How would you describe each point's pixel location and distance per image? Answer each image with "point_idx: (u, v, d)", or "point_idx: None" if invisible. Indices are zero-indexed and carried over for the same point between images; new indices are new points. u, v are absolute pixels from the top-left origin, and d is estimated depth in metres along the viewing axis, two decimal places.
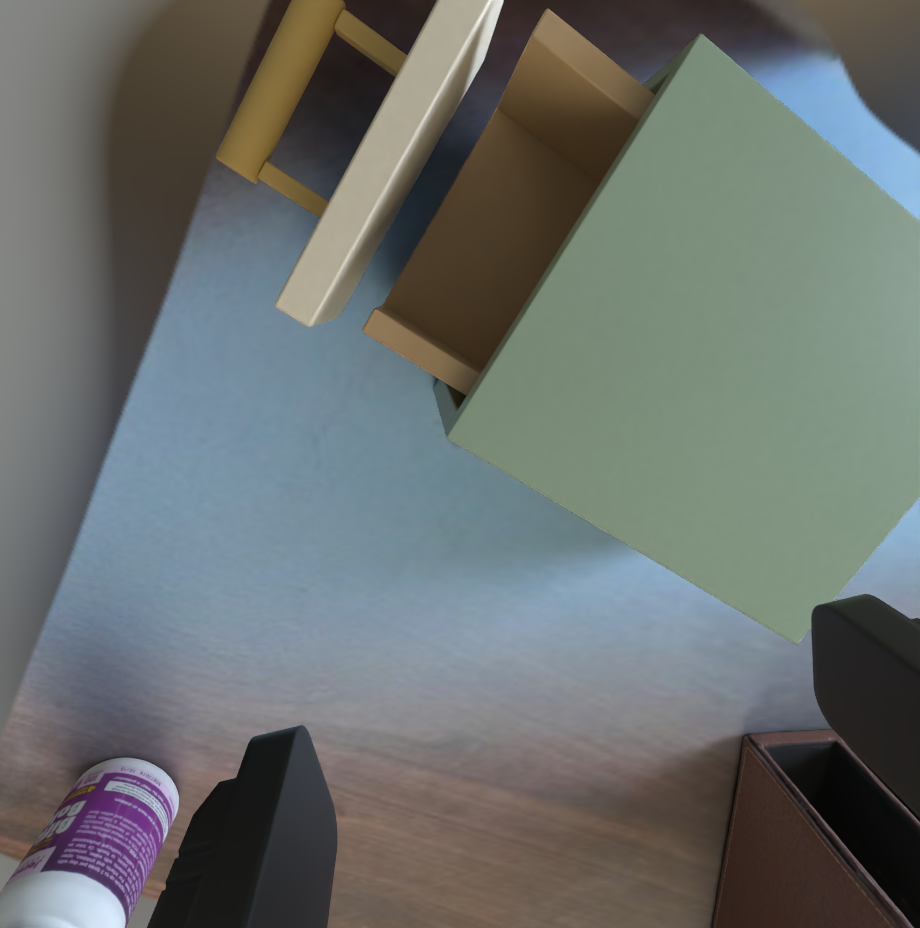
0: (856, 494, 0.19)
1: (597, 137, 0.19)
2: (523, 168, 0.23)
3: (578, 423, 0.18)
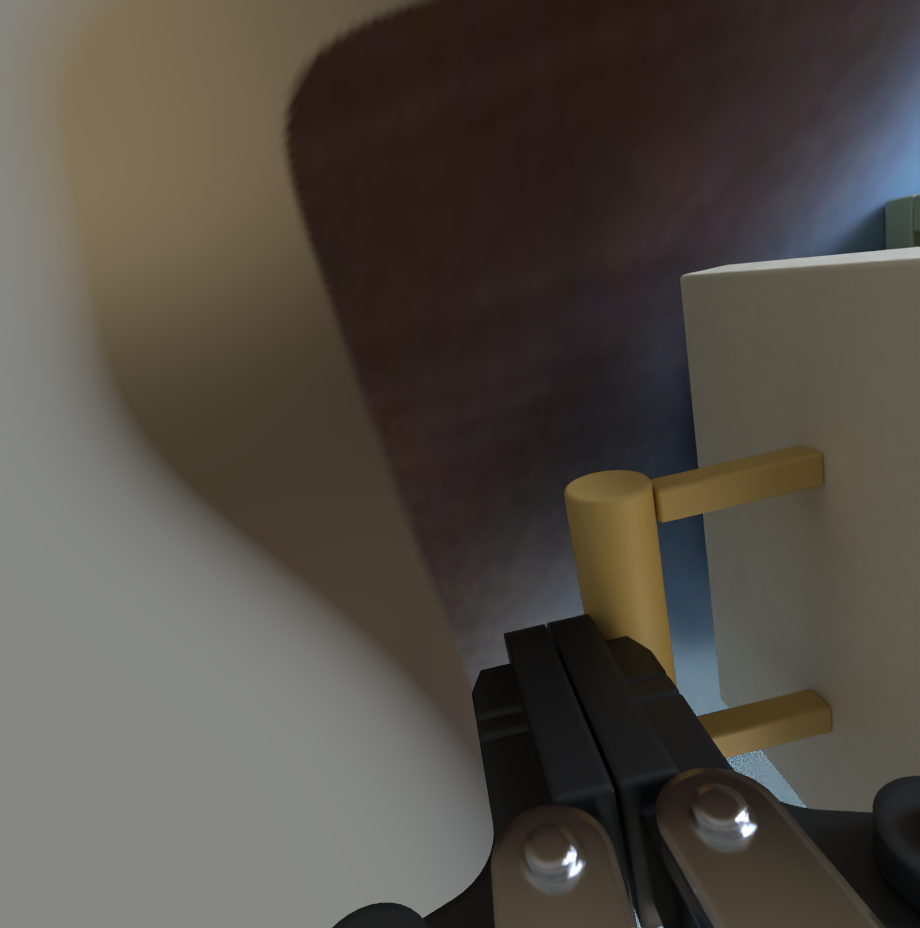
0: None
1: None
2: None
3: None
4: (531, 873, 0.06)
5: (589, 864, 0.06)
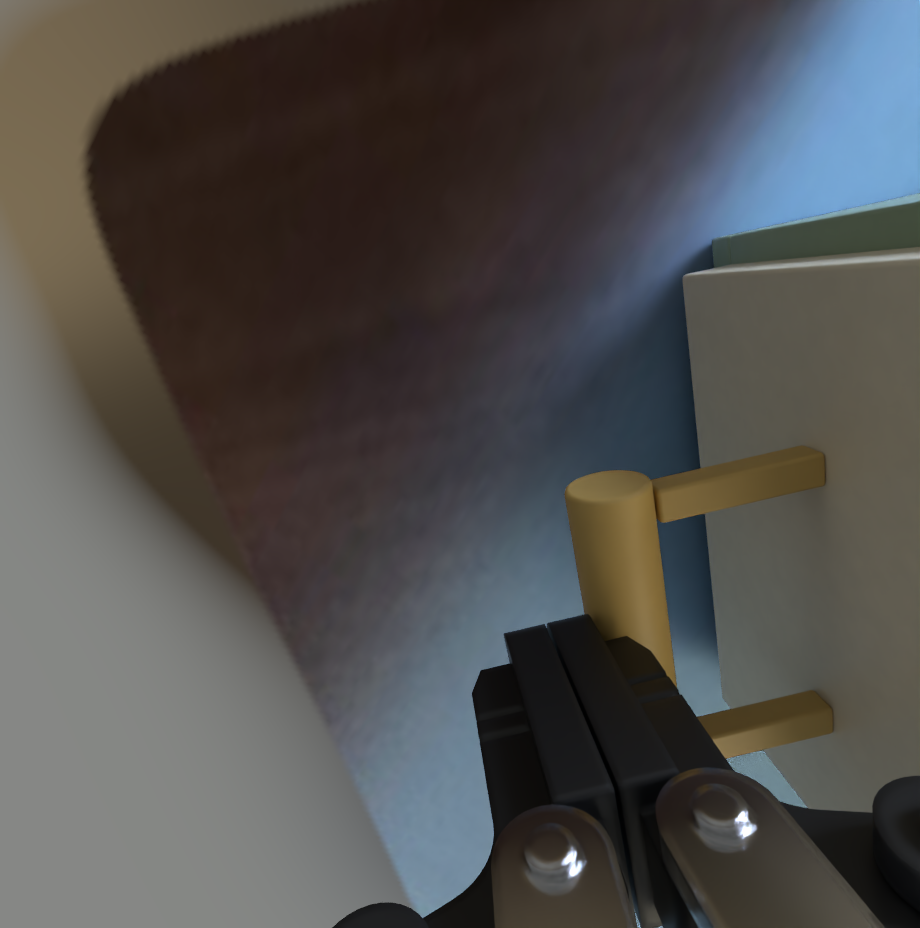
0: None
1: None
2: None
3: None
4: (531, 873, 0.06)
5: (589, 865, 0.06)
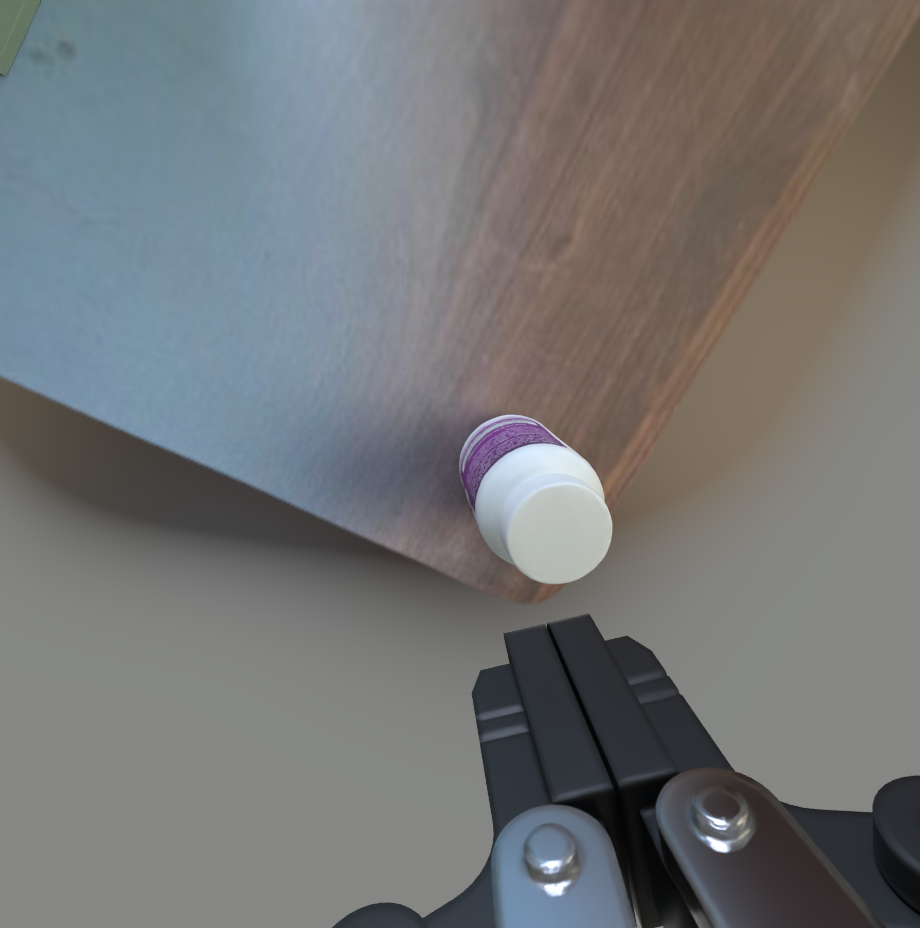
0: None
1: None
2: None
3: None
4: (531, 873, 0.06)
5: (590, 865, 0.06)
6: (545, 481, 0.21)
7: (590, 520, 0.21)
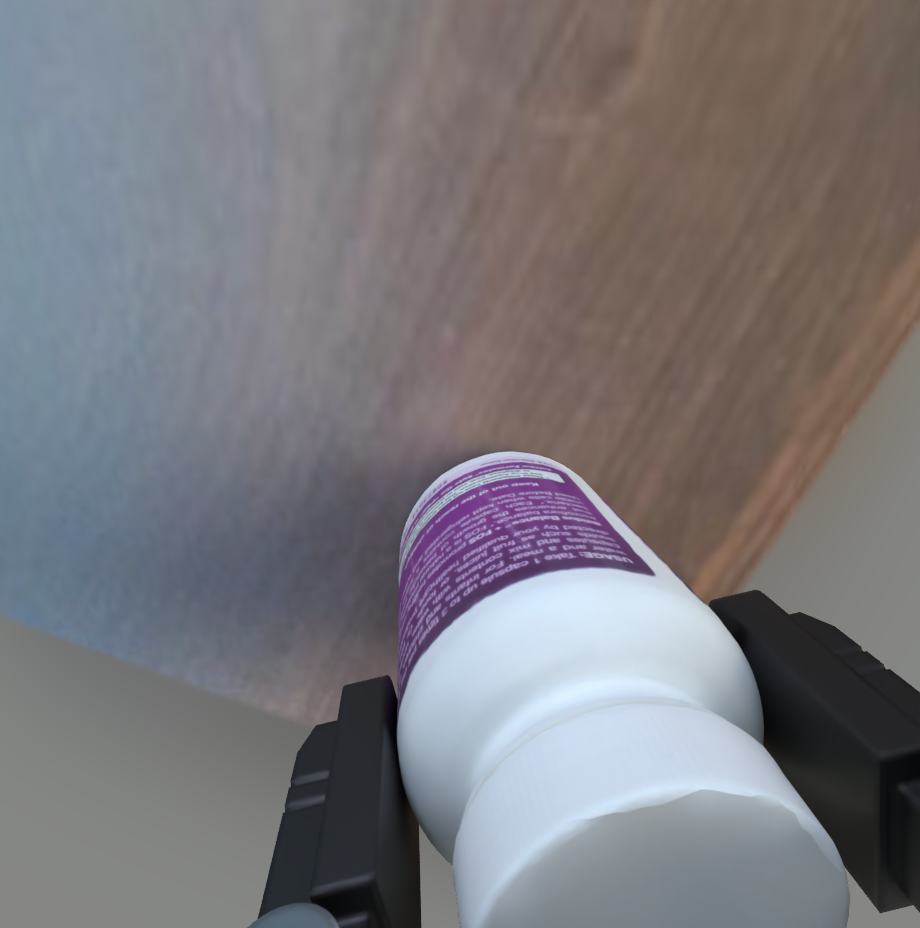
0: None
1: None
2: None
3: None
4: None
5: None
6: (609, 765, 0.06)
7: (775, 901, 0.06)
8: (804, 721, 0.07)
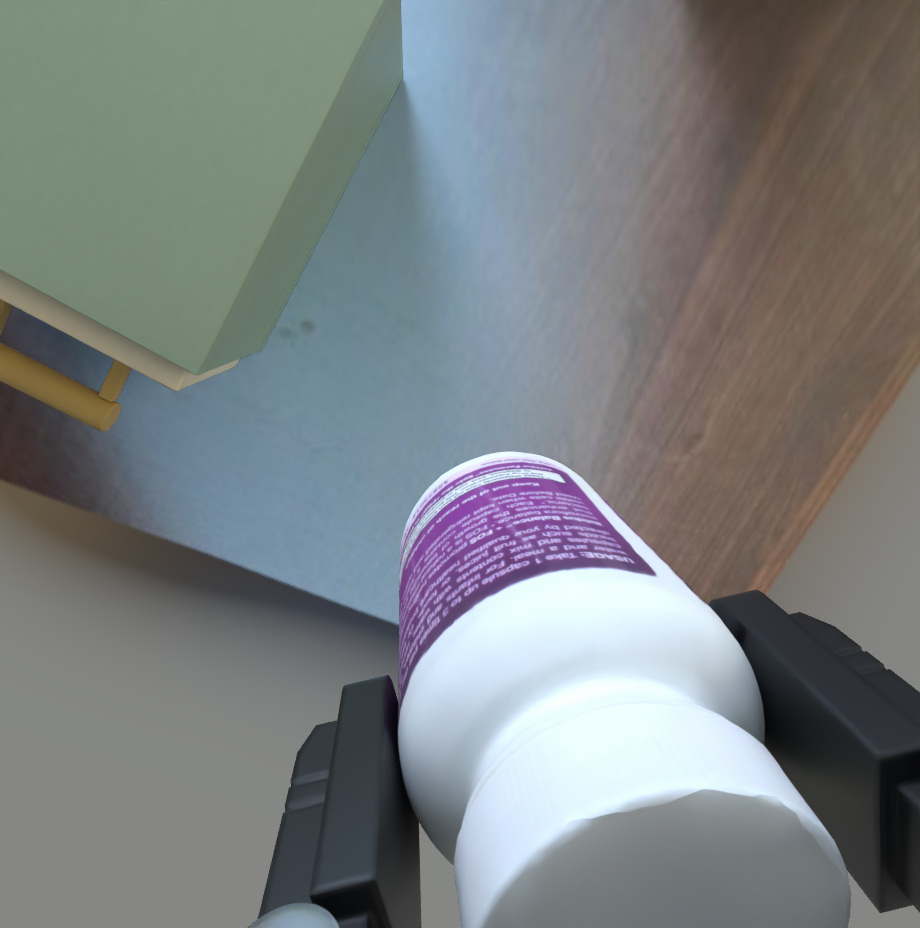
0: None
1: None
2: None
3: (169, 257, 0.20)
4: None
5: None
6: (611, 766, 0.06)
7: (776, 900, 0.06)
8: (804, 721, 0.07)
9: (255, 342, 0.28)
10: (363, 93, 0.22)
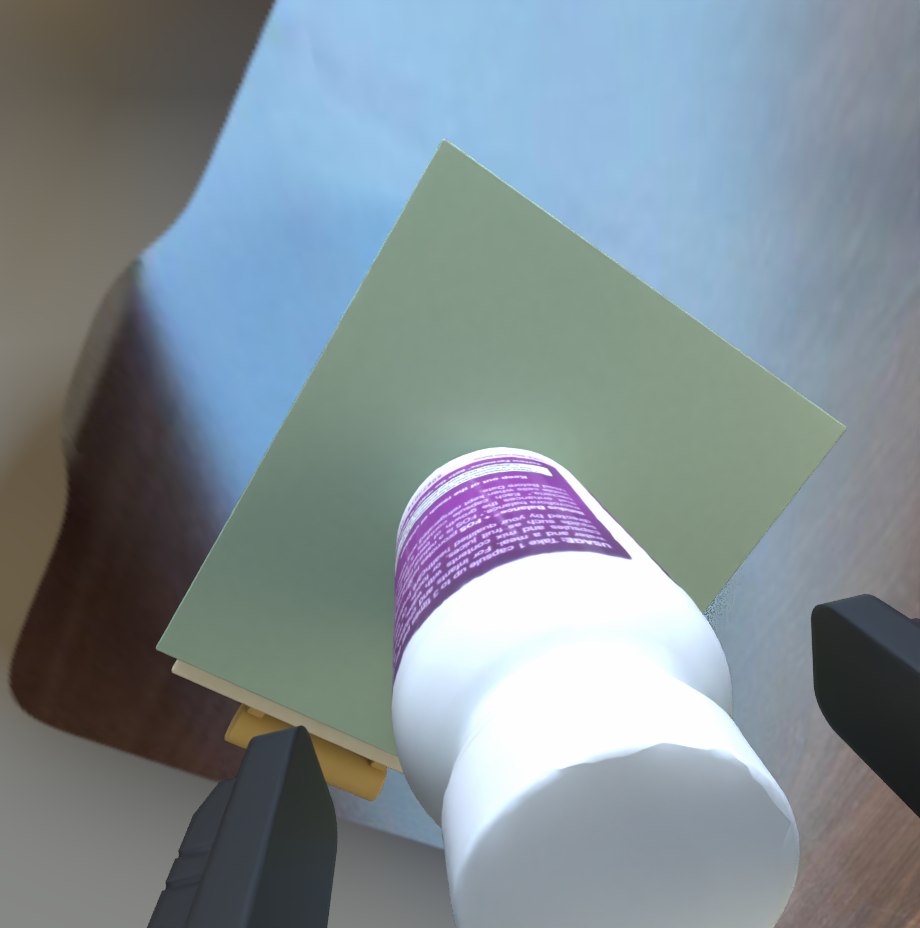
0: (647, 388, 0.15)
1: None
2: None
3: None
4: None
5: None
6: (580, 723, 0.06)
7: (731, 846, 0.06)
8: None
9: None
10: None
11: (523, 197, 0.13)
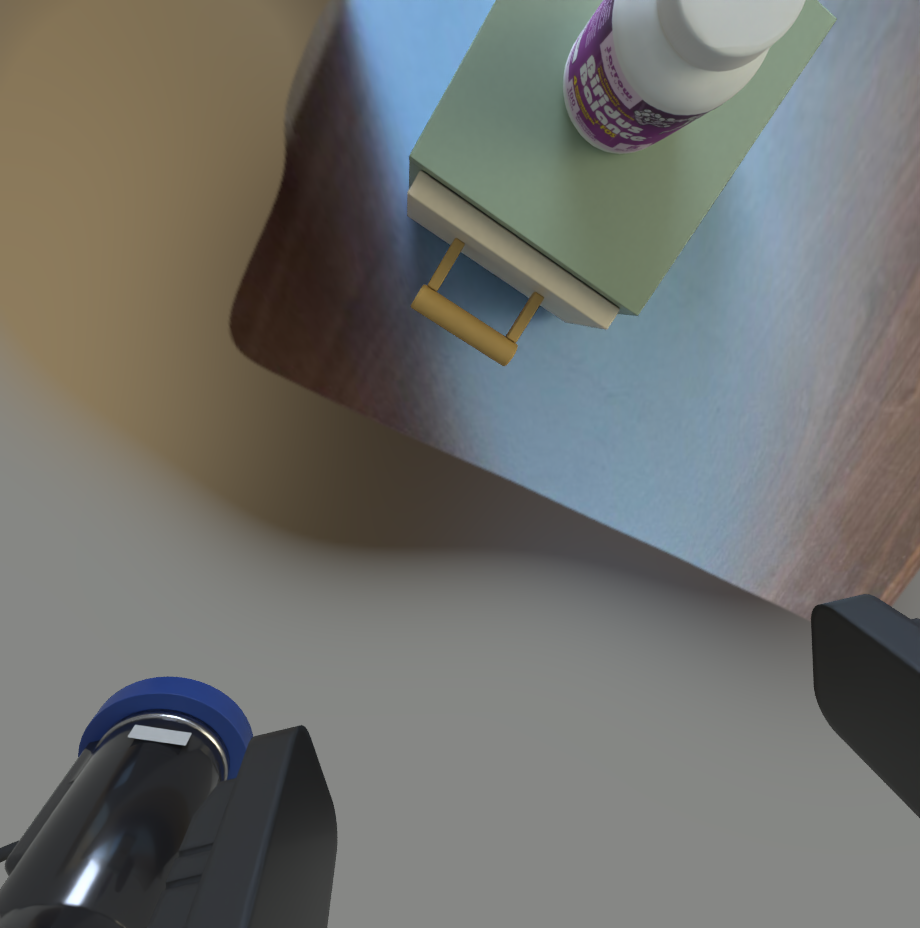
0: None
1: None
2: None
3: (637, 225, 0.27)
4: None
5: None
6: None
7: None
8: None
9: None
10: None
11: None
